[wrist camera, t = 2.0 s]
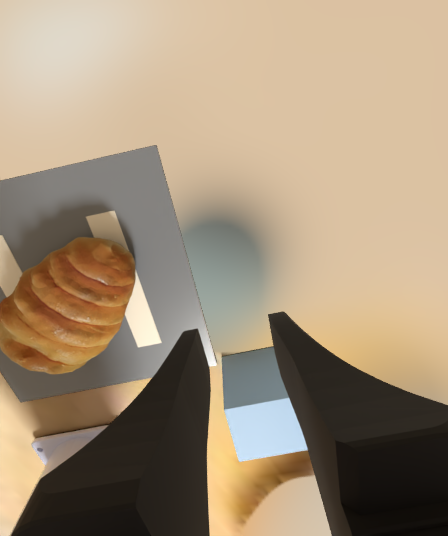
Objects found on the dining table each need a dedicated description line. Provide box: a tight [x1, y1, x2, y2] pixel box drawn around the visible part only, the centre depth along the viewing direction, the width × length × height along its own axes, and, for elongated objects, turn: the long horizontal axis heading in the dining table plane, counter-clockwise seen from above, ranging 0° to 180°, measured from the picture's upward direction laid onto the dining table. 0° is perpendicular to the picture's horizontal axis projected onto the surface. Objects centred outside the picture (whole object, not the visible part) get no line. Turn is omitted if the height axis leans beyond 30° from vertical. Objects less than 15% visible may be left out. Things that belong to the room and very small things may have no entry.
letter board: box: [0, 145, 217, 402], centre depth 20 cm, size 16×16×1 cm
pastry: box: [0, 237, 136, 375], centre depth 18 cm, size 9×7×4 cm
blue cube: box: [222, 346, 308, 462], centre depth 21 cm, size 5×5×5 cm
